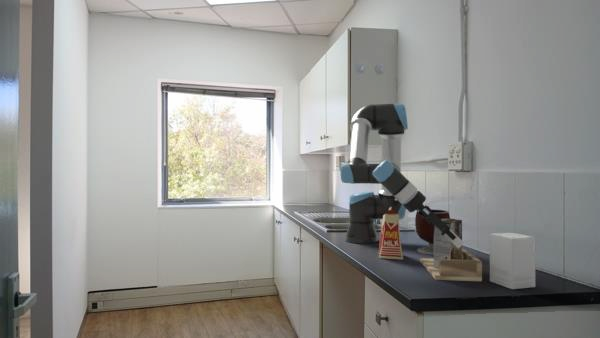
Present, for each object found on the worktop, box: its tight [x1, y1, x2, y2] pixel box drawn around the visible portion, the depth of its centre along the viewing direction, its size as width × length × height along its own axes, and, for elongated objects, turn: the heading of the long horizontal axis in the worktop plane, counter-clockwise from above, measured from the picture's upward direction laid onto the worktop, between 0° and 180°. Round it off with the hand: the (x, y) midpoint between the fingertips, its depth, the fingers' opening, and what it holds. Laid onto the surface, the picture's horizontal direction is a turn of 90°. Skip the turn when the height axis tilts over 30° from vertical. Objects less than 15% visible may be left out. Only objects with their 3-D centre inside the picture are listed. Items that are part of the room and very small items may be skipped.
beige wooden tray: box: [419, 247, 483, 282], centre depth 131 cm, size 24×14×6 cm, turn 174°
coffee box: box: [433, 217, 463, 268], centre depth 131 cm, size 9×6×16 cm
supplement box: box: [489, 232, 536, 290], centre depth 116 cm, size 9×9×15 cm
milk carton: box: [378, 207, 404, 260], centre depth 152 cm, size 9×9×20 cm
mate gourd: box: [414, 208, 451, 256], centre depth 161 cm, size 16×14×20 cm
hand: (455, 241), depth 131 cm, fingers open, 13 cm apart
